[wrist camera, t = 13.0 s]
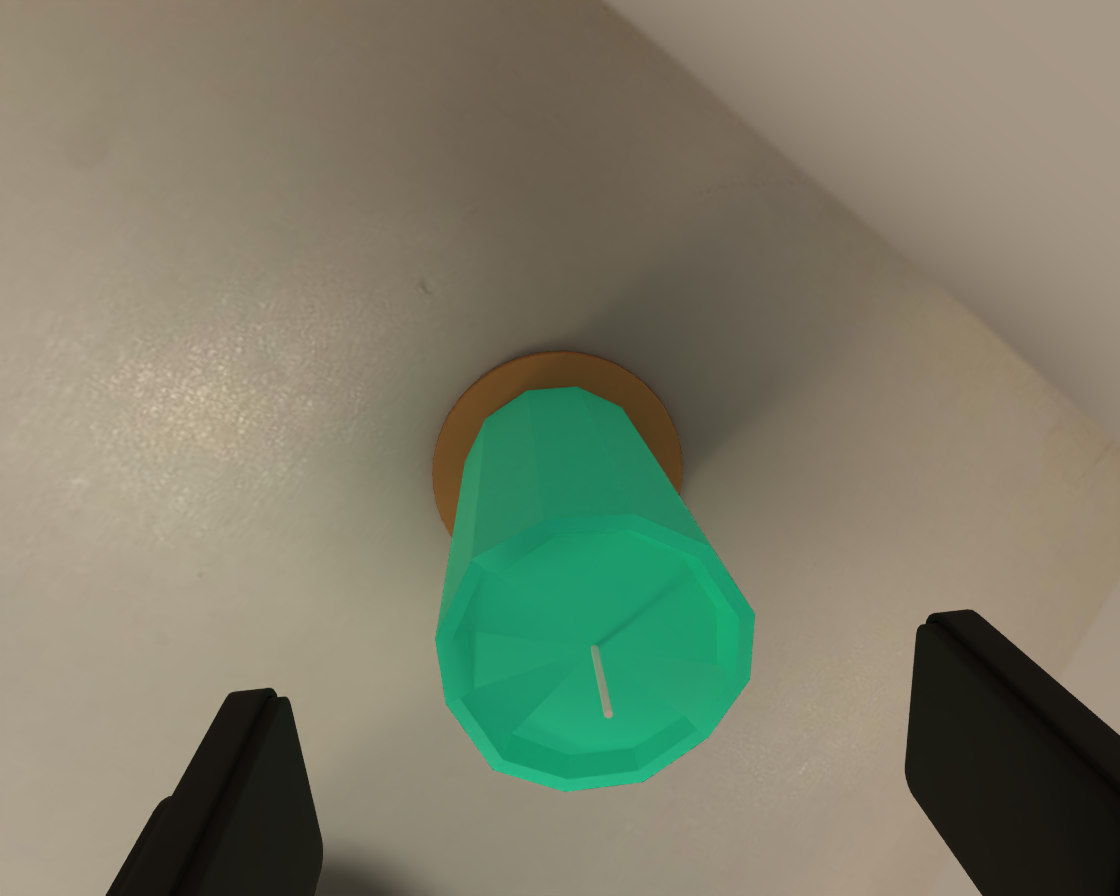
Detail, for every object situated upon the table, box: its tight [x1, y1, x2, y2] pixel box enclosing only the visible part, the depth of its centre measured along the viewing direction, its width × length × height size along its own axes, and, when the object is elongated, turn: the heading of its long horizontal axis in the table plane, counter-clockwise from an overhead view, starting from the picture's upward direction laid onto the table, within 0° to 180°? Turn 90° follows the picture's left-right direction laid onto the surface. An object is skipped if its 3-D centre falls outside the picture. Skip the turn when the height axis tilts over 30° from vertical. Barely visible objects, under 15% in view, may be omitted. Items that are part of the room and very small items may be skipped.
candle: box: [435, 387, 755, 792], centre depth 18 cm, size 6×6×12 cm
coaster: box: [433, 351, 682, 536], centre depth 24 cm, size 8×8×1 cm
